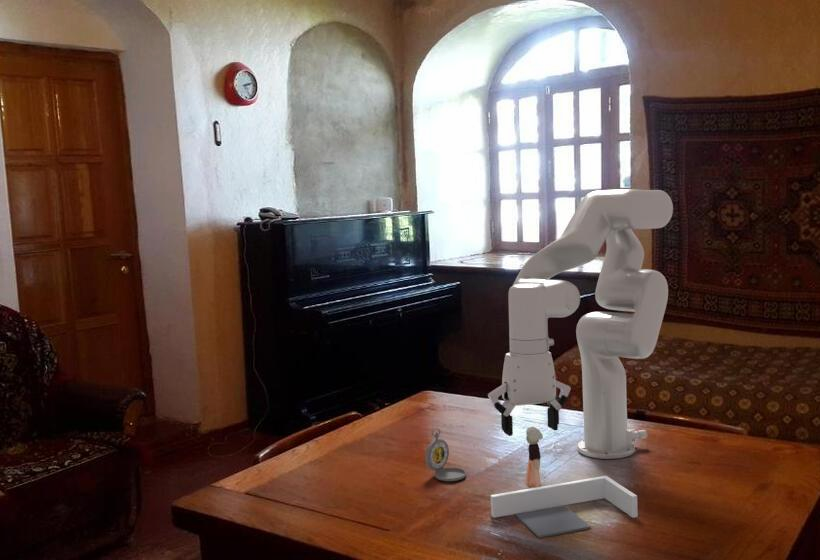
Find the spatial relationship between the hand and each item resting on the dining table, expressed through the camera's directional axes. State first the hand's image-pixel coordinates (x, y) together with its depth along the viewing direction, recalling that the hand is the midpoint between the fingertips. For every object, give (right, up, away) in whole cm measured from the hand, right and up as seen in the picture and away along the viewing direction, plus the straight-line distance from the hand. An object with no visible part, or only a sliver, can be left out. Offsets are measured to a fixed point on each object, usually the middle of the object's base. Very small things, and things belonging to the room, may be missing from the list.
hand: (530, 431), depth 160 cm
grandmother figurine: (+1, -12, +2) cm, 12 cm away
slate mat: (+2, -14, -14) cm, 20 cm away
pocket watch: (-16, -12, +12) cm, 23 cm away
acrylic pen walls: (+4, -13, -12) cm, 19 cm away
